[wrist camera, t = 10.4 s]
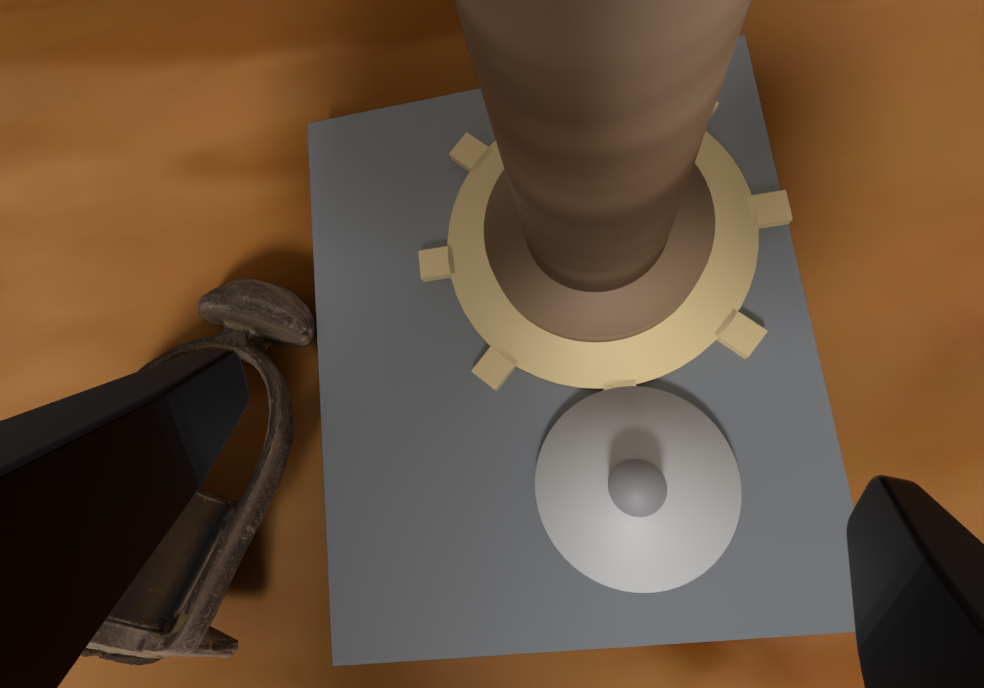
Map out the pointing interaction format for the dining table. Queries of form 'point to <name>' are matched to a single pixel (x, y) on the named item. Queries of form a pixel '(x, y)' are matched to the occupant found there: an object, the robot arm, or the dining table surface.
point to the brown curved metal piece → (212, 496)
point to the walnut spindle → (599, 153)
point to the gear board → (562, 416)
